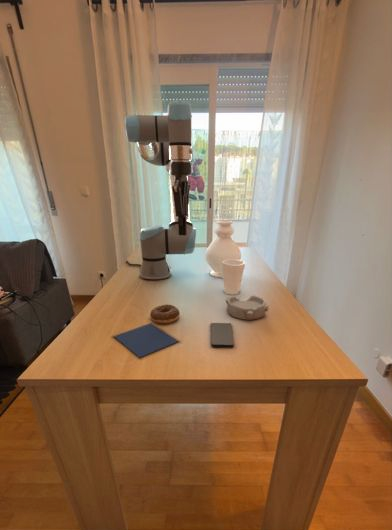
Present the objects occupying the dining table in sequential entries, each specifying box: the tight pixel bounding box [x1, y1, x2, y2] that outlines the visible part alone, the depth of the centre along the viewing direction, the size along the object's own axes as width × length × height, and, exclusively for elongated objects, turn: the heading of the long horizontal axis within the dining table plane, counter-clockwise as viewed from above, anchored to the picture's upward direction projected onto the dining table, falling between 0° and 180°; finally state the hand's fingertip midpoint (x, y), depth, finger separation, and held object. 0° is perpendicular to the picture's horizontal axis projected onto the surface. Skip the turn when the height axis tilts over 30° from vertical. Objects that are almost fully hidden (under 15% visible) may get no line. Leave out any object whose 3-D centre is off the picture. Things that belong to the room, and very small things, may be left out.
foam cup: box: [222, 259, 246, 295], centre depth 121 cm, size 10×9×13 cm
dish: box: [225, 295, 269, 320], centre depth 105 cm, size 14×14×5 cm
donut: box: [149, 303, 180, 324], centre depth 101 cm, size 11×11×4 cm
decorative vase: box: [204, 219, 242, 279], centre depth 140 cm, size 18×18×25 cm
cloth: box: [113, 322, 179, 359], centre depth 90 cm, size 16×14×1 cm
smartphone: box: [210, 322, 235, 348], centre depth 91 cm, size 7×1×15 cm
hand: (182, 234), depth 109 cm, fingers closed
